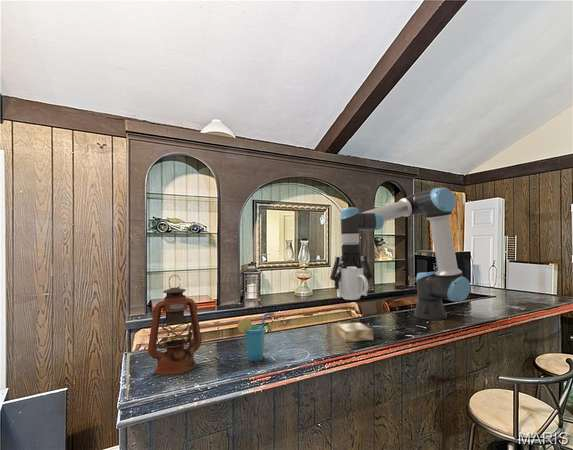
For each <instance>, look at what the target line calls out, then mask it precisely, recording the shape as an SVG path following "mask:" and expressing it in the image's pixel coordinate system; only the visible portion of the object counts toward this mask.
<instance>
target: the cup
mask: <svg viewBox="0 0 573 450" xmlns="http://www.w3.org/2000/svg"><path fill="white" fill-rule="evenodd" d="M267 316H269V317H270V316H271V317H274V316H275V313H273V312H266V313H264V315H263V317H262V321H261V323H260V324H252V321H251V320H250V319H248V318H242V319H241V320H239V321H238V322H237V326H236V328H237V330H238V332H239V333H242V334H244V335H245V341H246V343H245V344H246V352H247V359H248V360H247V361H249V362H259V361H262V360H263V359H264V346H265V332H266V326H265V325H264V324H265V321H266V317H267Z"/></svg>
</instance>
